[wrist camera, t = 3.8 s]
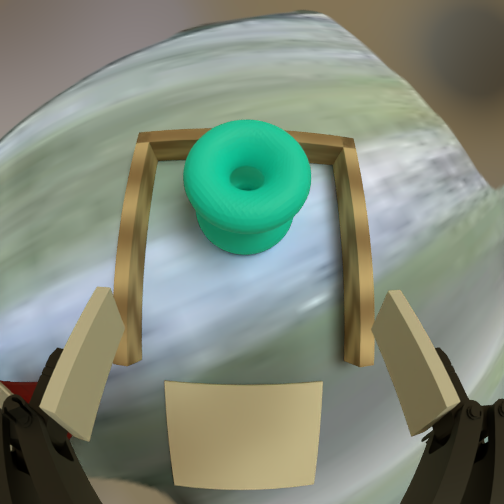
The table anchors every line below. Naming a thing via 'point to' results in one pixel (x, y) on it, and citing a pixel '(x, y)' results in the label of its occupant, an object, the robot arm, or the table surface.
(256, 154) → the donuts
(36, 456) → the robot arm
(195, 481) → the beige mat
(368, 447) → the table surface
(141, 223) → the wooden u-shaped frame
